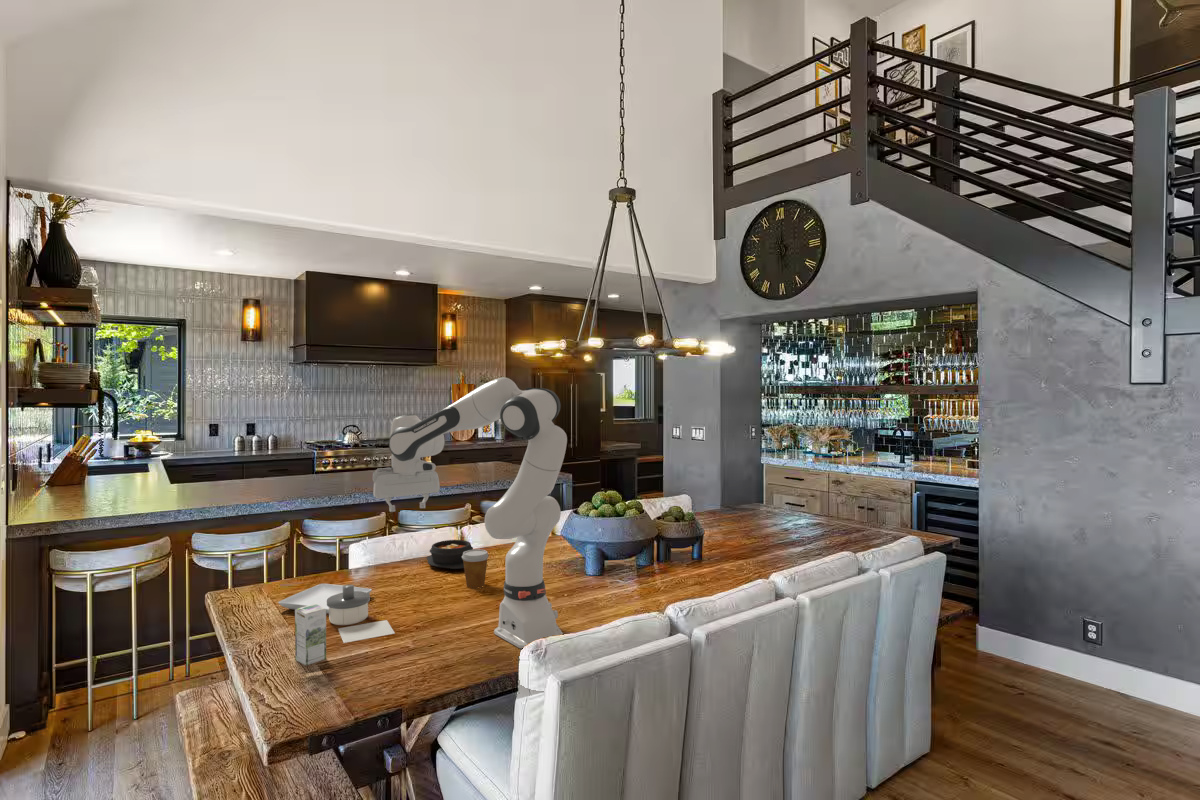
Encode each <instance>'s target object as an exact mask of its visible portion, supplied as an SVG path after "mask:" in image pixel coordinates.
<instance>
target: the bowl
mask: <svg viewBox="0 0 1200 800" xmlns="http://www.w3.org/2000/svg"><path fill="white" fill-rule="evenodd" d="M368 617H369V602H368V603H366V604H364V605H362V606H358V607H354V608H347V609H334V608H330V607H329V614H328V619H329V622H330V623H331V624H333V625H335V626H350V625H354V624H359V623H361V622H363V621H365V620H366V619H367V618H368Z"/></svg>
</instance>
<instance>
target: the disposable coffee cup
mask: <svg viewBox="0 0 1200 800" xmlns="http://www.w3.org/2000/svg"><path fill="white" fill-rule="evenodd" d="M489 556H490V554H489V553H488V551H487V550H485V549H473V550H468V551H465V552H463V556H462V559H463V563H464V568H463V571H464V576H465V577H464V578H465V582H466V583H465V584H466V587H467V588H468V587H470V588H469V589H479V588H478V587H480V588H483V587H484V586H485V582H486V575H487V566H488V558H489ZM482 586H483V587H482Z"/></svg>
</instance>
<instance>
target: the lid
mask: <svg viewBox="0 0 1200 800" xmlns="http://www.w3.org/2000/svg"><path fill="white" fill-rule="evenodd" d="M354 587H355V586H354V584H346V585H345V584H344V585H343V593H339V594H336V595H333V596H331V597H329V598H328V599H327V606H328V607H330V608H334V609H347V608H354V607H358V606H362V605H364V604H366V603H368V604H369V602H370V601H371V595H370V593H369V594H368V593H366V592H360V591H354Z"/></svg>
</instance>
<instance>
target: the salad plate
mask: <svg viewBox="0 0 1200 800" xmlns="http://www.w3.org/2000/svg"><path fill="white" fill-rule="evenodd" d="M343 586H344V585H341V584H334V583H333V584H330V583H319V584H317V585H314V586H312V587H310V588H307V589H305V590H303V591H300V592H298V593H294V594H293V595H291V596H288V597H286V598H284V599H282V600H279V601H278V602H277V603H278V605H280V606H282V607H283V608H285V609H290V610H294V611H295V609H298V608H302V607H305V606H309V605H312V604H318V605H321V606H322V607H324V608H325V609H326V615H327V614H328V615H329V607H328V606H327V599H328V598H329V597H331V596H333V595H336V594H339V593H343ZM354 591H360V592H366V593H368V594H369V595H370V593H371V592H372V588H367V587H358V586H354Z"/></svg>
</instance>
